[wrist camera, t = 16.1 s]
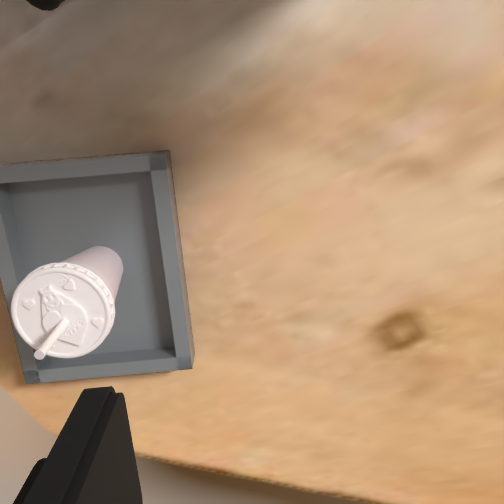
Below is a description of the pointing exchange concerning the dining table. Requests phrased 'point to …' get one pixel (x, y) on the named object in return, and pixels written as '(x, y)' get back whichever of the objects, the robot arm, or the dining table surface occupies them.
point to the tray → (108, 235)
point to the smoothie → (68, 303)
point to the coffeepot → (46, 4)
